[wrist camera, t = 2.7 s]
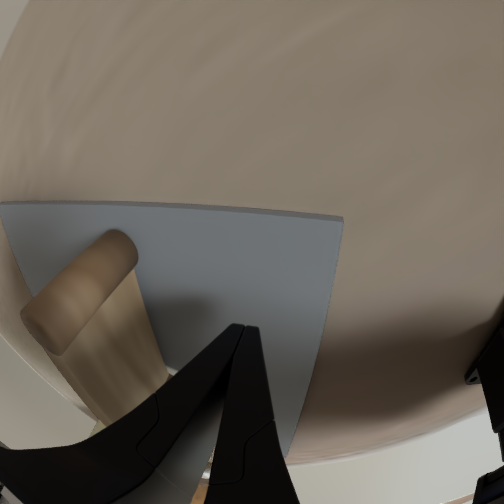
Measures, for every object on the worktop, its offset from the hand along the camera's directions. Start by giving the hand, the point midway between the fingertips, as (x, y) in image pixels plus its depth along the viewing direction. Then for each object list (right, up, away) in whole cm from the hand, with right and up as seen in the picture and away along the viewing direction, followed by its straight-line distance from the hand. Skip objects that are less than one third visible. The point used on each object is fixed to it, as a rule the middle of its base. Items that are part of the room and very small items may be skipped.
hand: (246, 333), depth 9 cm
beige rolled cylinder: (-5, 0, +4) cm, 6 cm away
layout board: (-6, -5, +7) cm, 11 cm away
